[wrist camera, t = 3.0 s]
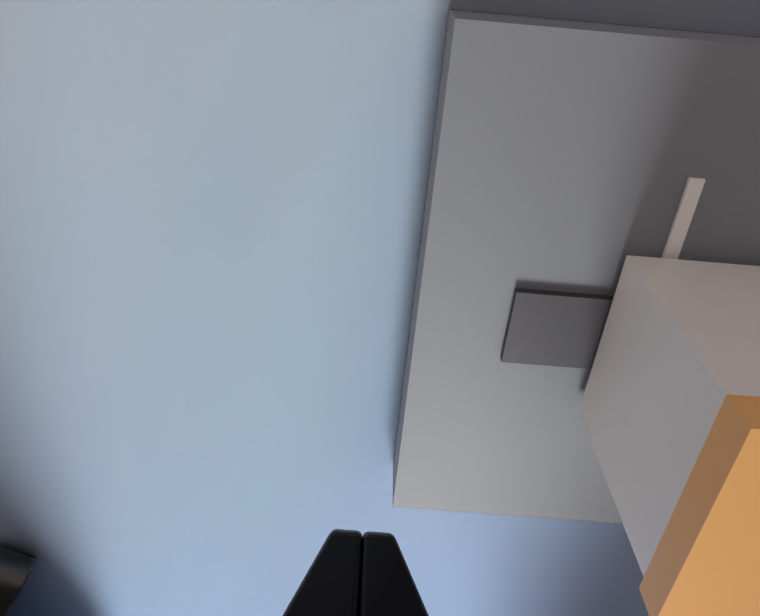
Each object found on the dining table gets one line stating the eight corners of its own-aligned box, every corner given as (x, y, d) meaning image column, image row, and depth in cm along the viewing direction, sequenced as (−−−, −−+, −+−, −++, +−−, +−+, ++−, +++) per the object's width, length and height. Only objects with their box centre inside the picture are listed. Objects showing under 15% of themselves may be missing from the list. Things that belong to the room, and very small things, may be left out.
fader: (750, 426, 15) (908, 644, 10) (573, 412, 15) (653, 626, 10) (829, 267, 13) (1071, 453, 8) (623, 250, 13) (751, 428, 8)
